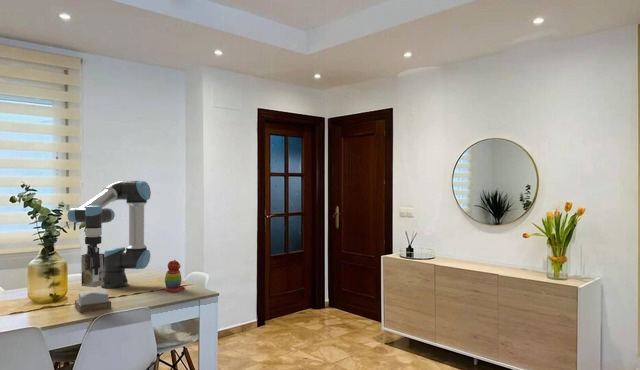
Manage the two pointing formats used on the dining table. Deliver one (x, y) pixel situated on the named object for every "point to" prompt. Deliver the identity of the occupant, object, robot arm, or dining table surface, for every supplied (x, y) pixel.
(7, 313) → the dining table surface
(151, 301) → the dining table surface
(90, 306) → the base slab
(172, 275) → the stacking bear
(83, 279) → the coffee box
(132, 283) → the dining table surface
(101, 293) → the top slab
